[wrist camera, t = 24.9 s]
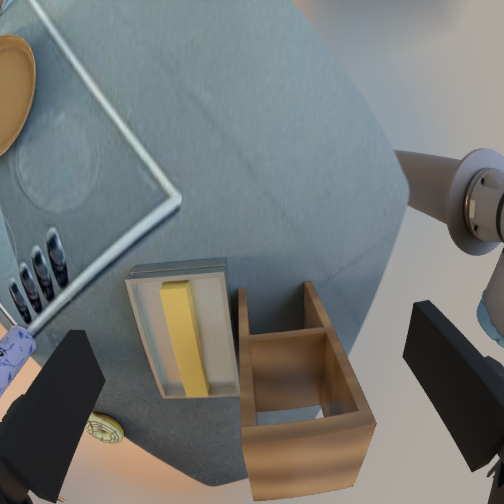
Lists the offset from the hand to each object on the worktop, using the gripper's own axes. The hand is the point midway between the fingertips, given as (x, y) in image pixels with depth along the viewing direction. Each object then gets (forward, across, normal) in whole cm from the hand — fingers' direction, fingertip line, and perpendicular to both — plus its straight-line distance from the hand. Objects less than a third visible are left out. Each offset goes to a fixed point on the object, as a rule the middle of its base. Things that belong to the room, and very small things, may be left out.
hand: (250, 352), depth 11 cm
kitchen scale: (+36, -11, -22) cm, 44 cm away
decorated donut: (+36, -40, -52) cm, 75 cm away
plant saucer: (+36, -43, +25) cm, 62 cm away
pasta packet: (+33, -11, -22) cm, 41 cm away
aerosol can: (+36, -52, -26) cm, 69 cm away
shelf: (+36, +4, -22) cm, 43 cm away
